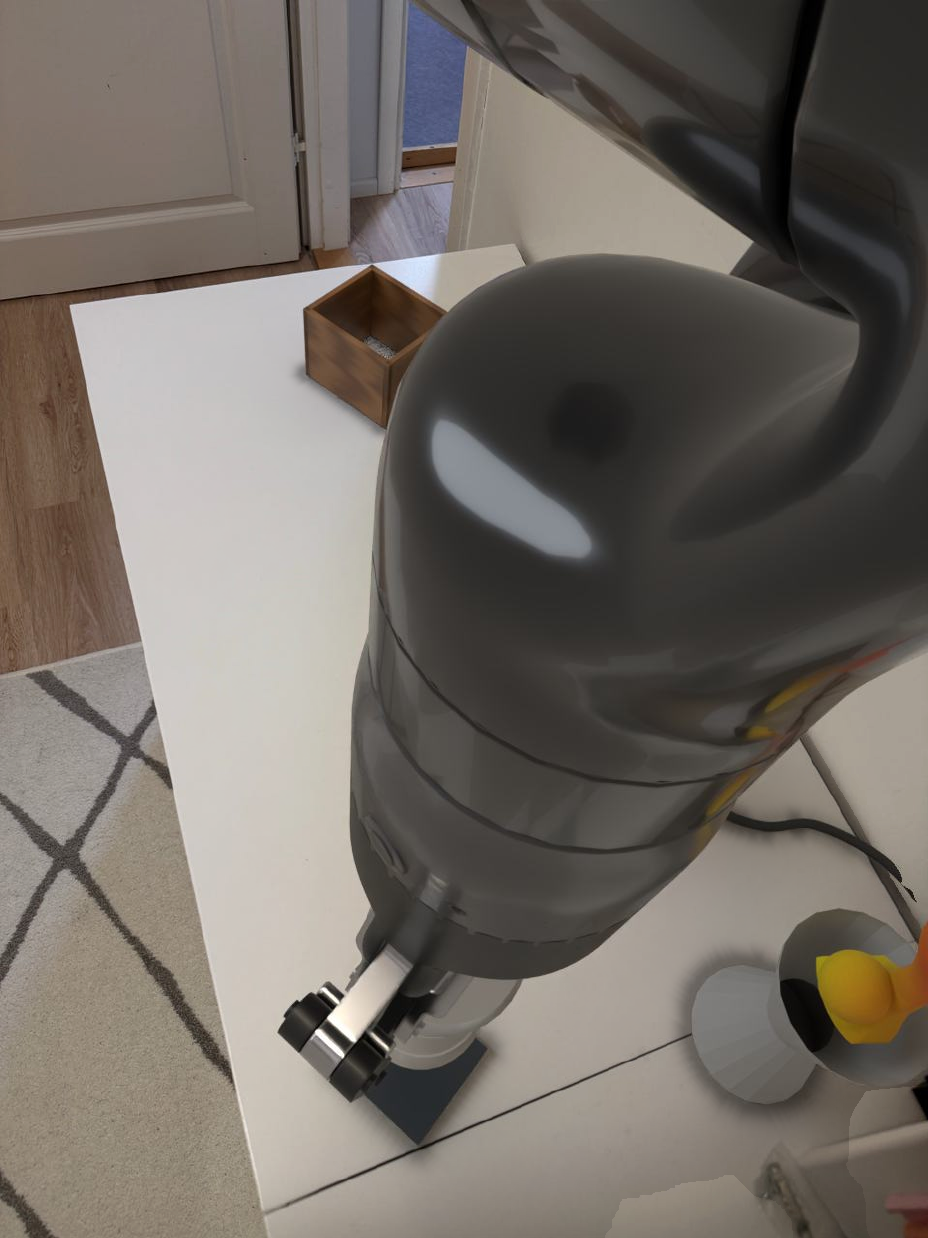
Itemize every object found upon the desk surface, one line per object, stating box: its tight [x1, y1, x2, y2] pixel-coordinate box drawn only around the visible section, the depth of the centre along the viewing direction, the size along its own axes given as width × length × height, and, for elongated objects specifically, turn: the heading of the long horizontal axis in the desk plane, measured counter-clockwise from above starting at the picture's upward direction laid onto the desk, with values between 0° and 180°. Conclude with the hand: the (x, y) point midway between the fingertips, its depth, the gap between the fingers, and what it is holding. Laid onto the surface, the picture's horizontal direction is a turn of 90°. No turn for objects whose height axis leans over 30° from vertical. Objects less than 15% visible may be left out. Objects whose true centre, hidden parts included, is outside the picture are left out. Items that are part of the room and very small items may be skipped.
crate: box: [302, 263, 448, 430], centre depth 87 cm, size 11×10×8 cm
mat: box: [364, 1036, 488, 1146], centre depth 57 cm, size 7×7×1 cm
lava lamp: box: [691, 907, 928, 1105], centre depth 46 cm, size 9×9×35 cm
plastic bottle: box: [366, 906, 524, 1070], centre depth 38 cm, size 6×7×20 cm
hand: (449, 936), depth 33 cm, fingers closed on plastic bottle, 6 cm apart
